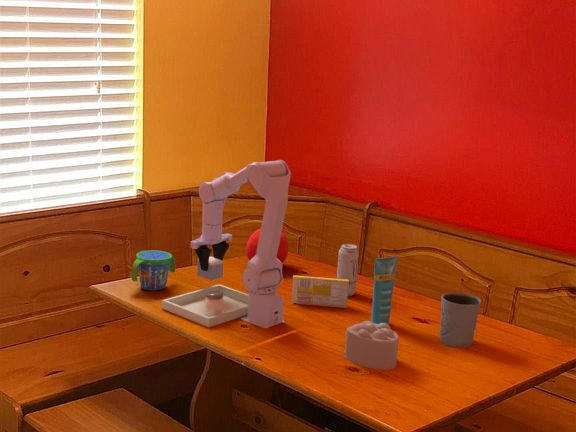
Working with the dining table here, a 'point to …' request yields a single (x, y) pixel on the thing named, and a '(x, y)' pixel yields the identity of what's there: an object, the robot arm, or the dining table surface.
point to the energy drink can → (348, 266)
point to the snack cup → (153, 269)
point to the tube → (383, 289)
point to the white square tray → (195, 305)
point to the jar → (213, 303)
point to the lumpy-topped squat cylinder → (372, 345)
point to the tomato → (253, 245)
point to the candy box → (320, 291)
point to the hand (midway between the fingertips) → (210, 268)
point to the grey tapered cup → (458, 319)
